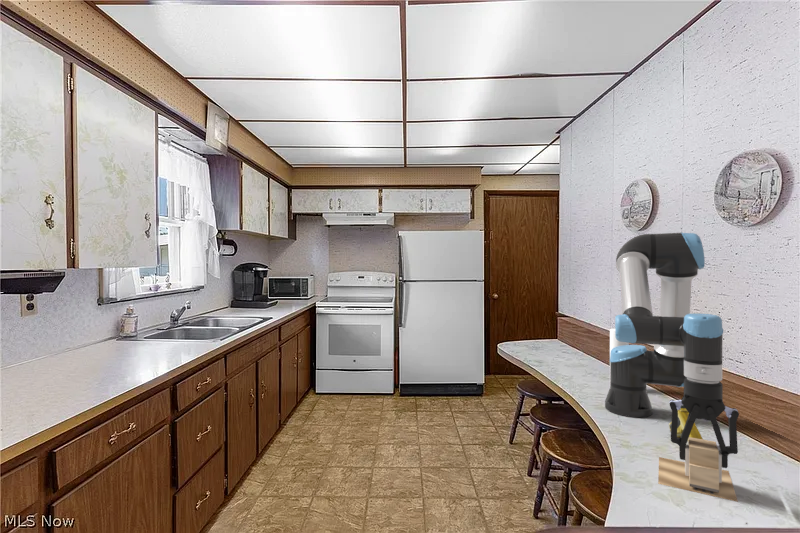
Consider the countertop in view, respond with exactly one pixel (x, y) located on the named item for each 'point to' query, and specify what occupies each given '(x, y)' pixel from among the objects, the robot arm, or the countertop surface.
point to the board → (675, 477)
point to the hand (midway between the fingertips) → (702, 476)
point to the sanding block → (703, 464)
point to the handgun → (681, 423)
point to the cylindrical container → (615, 340)
